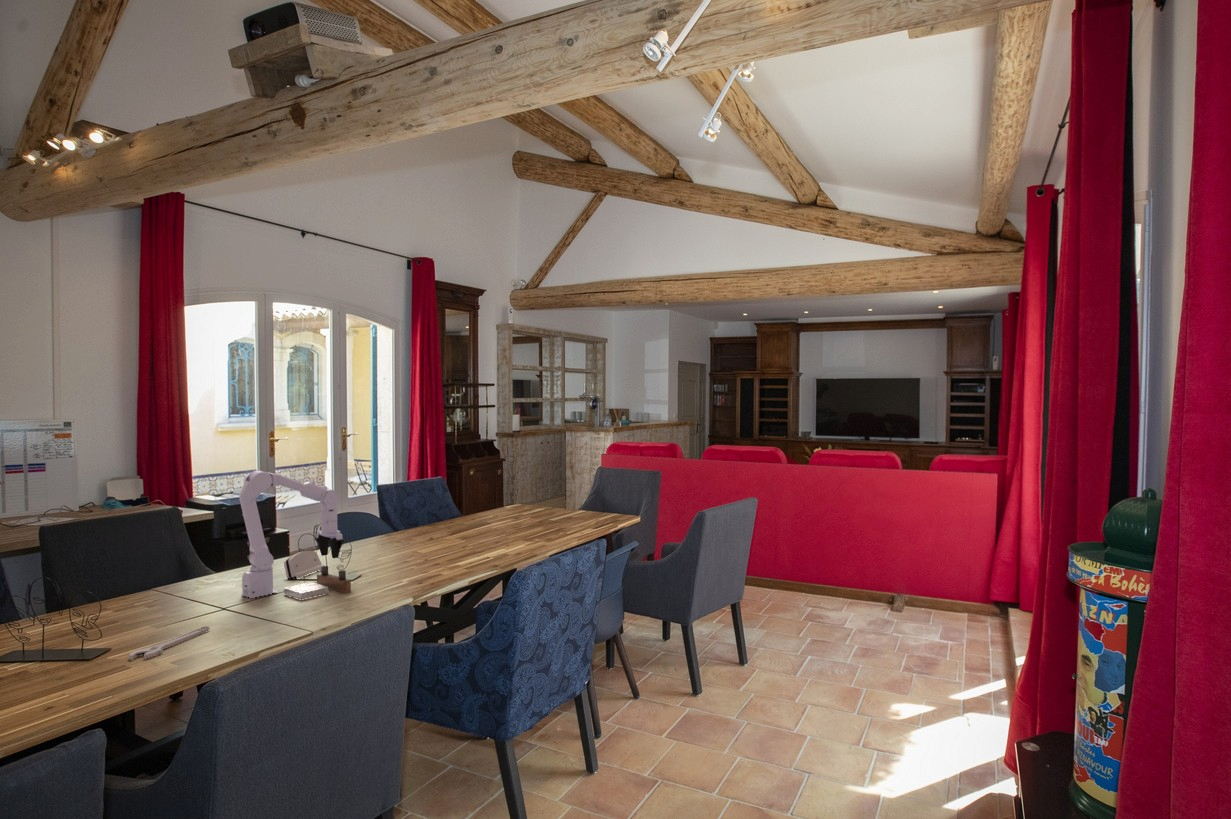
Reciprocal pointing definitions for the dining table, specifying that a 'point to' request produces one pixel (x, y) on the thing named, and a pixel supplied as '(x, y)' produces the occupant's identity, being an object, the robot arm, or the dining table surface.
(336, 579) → the stop rail
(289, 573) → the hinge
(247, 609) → the dining table surface
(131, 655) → the adjustable wrench
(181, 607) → the dining table surface
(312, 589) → the plate
